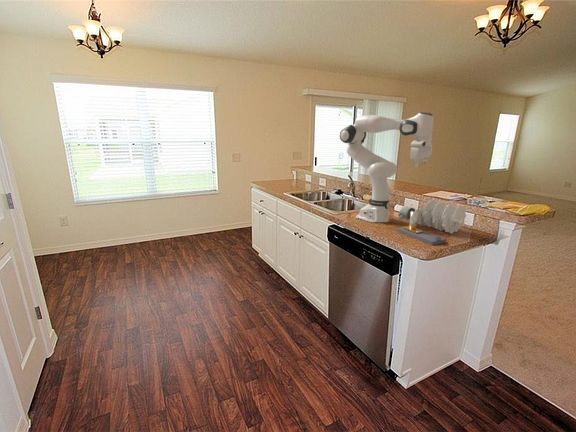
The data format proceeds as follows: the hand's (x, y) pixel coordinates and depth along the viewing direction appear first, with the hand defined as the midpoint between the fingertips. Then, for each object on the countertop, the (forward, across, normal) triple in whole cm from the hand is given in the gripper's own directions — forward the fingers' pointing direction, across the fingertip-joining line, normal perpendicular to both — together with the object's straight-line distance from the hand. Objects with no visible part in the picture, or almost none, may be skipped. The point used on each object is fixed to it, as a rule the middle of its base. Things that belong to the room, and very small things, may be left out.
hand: (420, 165), depth 174 cm
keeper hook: (+34, +22, +23) cm, 46 cm away
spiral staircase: (+38, -2, +14) cm, 41 cm away
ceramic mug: (+40, -13, -13) cm, 44 cm away
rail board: (+36, +19, +12) cm, 43 cm away
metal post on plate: (+34, +17, +7) cm, 39 cm away
